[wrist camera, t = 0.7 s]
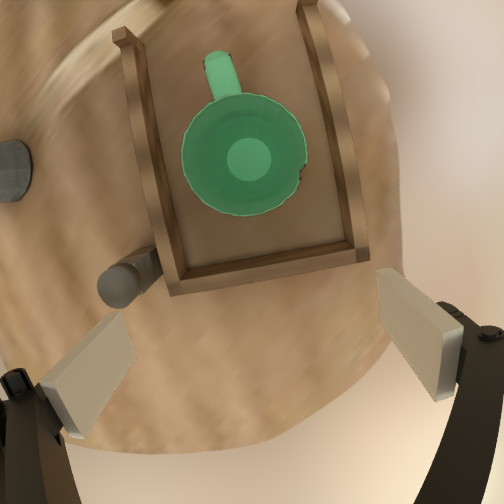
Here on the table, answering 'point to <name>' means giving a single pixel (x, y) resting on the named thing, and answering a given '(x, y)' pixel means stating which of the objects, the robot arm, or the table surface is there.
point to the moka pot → (14, 170)
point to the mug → (241, 147)
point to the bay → (161, 208)
